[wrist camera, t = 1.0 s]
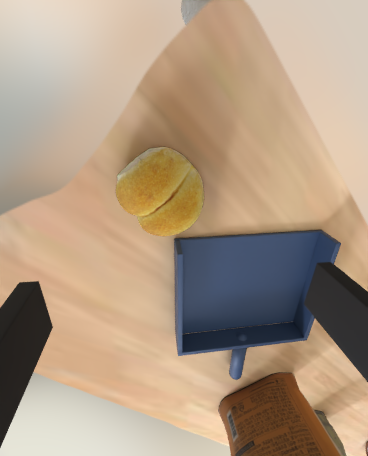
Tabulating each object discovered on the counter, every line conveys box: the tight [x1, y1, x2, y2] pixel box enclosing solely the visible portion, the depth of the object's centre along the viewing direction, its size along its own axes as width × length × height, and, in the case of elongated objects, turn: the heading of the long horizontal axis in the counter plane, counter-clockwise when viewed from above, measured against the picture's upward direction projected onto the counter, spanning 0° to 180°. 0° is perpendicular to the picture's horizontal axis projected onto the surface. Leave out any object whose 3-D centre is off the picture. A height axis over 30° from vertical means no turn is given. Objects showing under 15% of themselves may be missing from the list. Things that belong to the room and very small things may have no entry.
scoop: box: [174, 230, 341, 380], centre depth 33 cm, size 26×19×4 cm
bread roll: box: [116, 147, 204, 236], centre depth 24 cm, size 8×9×4 cm
